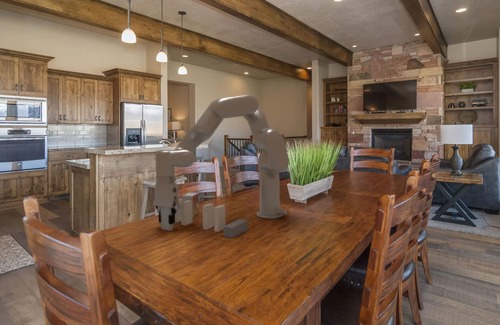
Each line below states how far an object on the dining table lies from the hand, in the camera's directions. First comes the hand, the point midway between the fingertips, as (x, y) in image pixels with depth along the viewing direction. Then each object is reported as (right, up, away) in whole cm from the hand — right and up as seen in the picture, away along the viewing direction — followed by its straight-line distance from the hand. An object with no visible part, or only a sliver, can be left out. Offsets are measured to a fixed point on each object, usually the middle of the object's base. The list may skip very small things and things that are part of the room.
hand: (166, 222), depth 130 cm
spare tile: (0, -3, 0) cm, 3 cm away
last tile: (+22, -3, -1) cm, 23 cm away
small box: (+6, -1, +22) cm, 23 cm away
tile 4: (+17, -3, +2) cm, 17 cm away
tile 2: (+7, -2, +8) cm, 11 cm away
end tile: (+2, -2, +11) cm, 11 cm away
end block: (+29, -3, -5) cm, 30 cm away
